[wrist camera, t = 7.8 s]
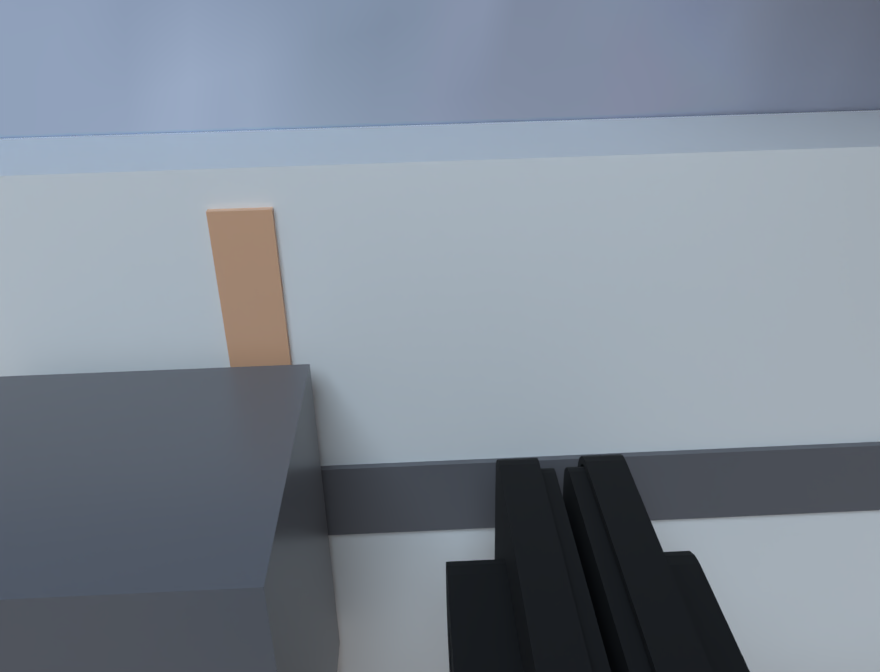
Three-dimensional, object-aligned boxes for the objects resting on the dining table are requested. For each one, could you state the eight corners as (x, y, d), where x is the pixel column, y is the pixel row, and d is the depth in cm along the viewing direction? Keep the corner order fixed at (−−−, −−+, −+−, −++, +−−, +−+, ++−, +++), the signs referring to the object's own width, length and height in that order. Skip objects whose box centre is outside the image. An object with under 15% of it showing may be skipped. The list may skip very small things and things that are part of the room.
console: (1352, 94, 12) (1525, 127, 10) (1114, 600, 17) (1205, 687, 15) (-318, 148, 11) (-459, 194, 10) (-91, 660, 16) (-156, 759, 14)
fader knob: (309, 363, 11) (264, 586, 7) (339, 642, 13) (316, 917, 9) (-3, 376, 11) (-208, 608, 7) (82, 655, 13) (-40, 938, 9)
